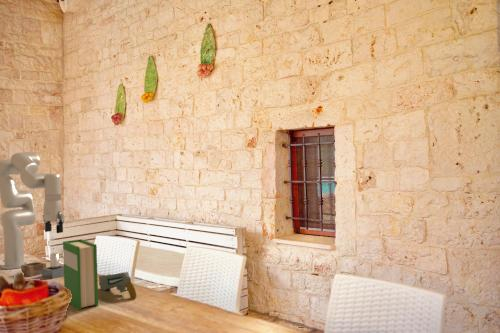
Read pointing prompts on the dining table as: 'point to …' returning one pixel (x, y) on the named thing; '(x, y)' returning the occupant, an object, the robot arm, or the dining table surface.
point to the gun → (118, 283)
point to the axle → (54, 261)
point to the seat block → (53, 272)
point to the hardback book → (81, 272)
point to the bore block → (33, 268)
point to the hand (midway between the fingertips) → (53, 232)
